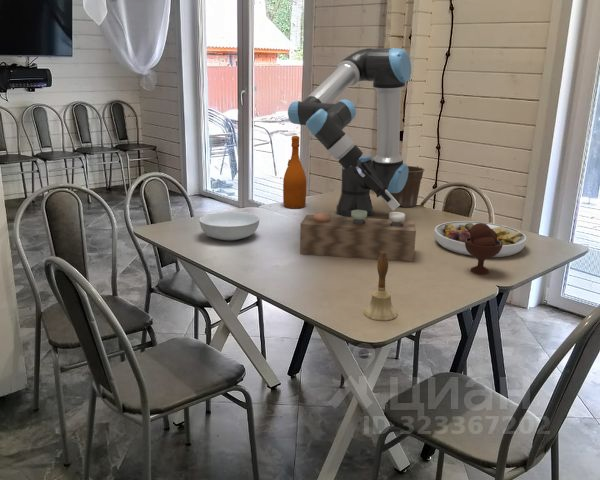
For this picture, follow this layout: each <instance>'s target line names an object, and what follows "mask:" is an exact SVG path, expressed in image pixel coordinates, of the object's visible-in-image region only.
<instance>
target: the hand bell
mask: <svg viewBox="0 0 600 480" xmlns="http://www.w3.org/2000/svg"><path fill="white" fill-rule="evenodd" d="M376 267H377V273H378V285H377V288H378V289H377V290H374V291H373V292H372V294H371V298H370V302H369V305H368V306H367V307H366V308H364V310H363V314H364V315H363V316H365V317H366V318H368V319H371V320H373V321H379V322H380V321H383V322H384V321H391V320H394V319H396V318H397V317H398V312H397V309H395V308H394V307H393V304H392V299H391V293H390V292H389V291H387V290H386V276H387V274H388V269H389V260H388V259H387V255H386V252H381V254H380V257H379V259H377V265H376Z"/></svg>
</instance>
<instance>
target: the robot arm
mask: <svg viewBox="0 0 600 480" xmlns="http://www.w3.org/2000/svg"><path fill="white" fill-rule="evenodd" d="M411 74H412V63H411V57H410V56H409V54H408V52H407V51H406V50H405V49H403V48H397V47H382V48H372V47H371V48H369V47H368V48H367V47H366V48H362V49H359V50H357V51H355V52H353V53H351V54H349V55H347V56H346V57H345V58H343V59H342V60H341V61H340V62H339V63H338V64H337V66H336V69H335V70H334V72H332V73H331V74H330V75H329V76H328V77H327V78H326V79H325V80H324V81H322V83H320V85H318V86H317V87H316V88H315V89H314V90H312V92H311V93H310V94H309V95H307V96H306V97H305V99H304V100H303V101H300V100H298V101H297V100H296V101H292V102H291V103H290V104H289V106H288V108H287V116H288V120H289V121H290V123H291V124H294V125H299V126H306V128H307V129H308V130H309V132H311V135H312V136H314V137H315V139H316V140H318V141H319V142H320V144H321V145H323V147H324V148H325V149H326V150H327V151H328V152H329V153H328V155H329V156H333V158H334V159H335V160H338V164H340V166H341V193H340V197H339V199H338V203H337V204H336V207H335V208H336V211H335V213H337V214H338V215H340V216H343V217H351V211H352V210H365V211H367V217H368V216H369V217H370V216H371V215H373V214H374V206H373V203H372V199H371V195H370V194H371V193H370V192H371V191H372V192H374V193H375V195H376V198H379V197H380V198H381V199H382V200H383V202H385V204H386V205H388V207H389V208H390V209H391V210H392V212H395V210H396V209H397V208H399V207H401V206H400V204H399V203H398V202H397V201H396V200H395V199H394V197H393V196H392V195H391V194H390V193H399V192H400V191H401V190H402V189H403V188H404V186H405V184H406V181H407V178H408V171H409V170H408V166H409V165H408V164H406V163H404V157H403V156H402V155H401V154H400V142H401V140H400V139H401V138H400V134H401V133H400V131H401V94H402V93H401V92H402V90H403V89H404V88H405V87H406V86H405V85H406V83H408V82H409V81H410V79H411ZM359 82H372V87H373V89H374V90H376V92H377V93H376V95H377V97H376V98H377V99H376V106H377V107H376V113H377V114H376V155H375V156H374V157H372V156H370V155H364V154H363V153H364V152H363V151H362V150H361V149H360V148H359V147H358V146H357V145H354V144H355V142H354V141H353V140H352V139H351V138H350V136H349V135H348V134H347V133H345V131H344V130H343V129H345V128H346V127H347V126H348V125H349V124H350V123H351V122H352V121H353V119H354V118H355V117H356V114H357V110H356V109H357V108H356V107H355V105H354V103H353V102H352V101H351V100H348V99H340V100H339V101H336V100H337V99H338V98H339V97H340V96H341V95H343V93H344V92H345V91H346V90H347V89H348V88H350V86H354V85H356V84H357V83H359ZM335 101H336V103H335Z"/></svg>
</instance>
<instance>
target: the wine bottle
mask: <svg viewBox="0 0 600 480" xmlns="http://www.w3.org/2000/svg"><path fill="white" fill-rule="evenodd" d="M290 146H291V148H292V149H291V156H290V159H288V161H287V167H286V169H285V172H284V176H283V181H282V182H283V185H282V193H283V194H282V195H283V196H282V198H283V199H282V200H283V206H284V207H285V208H288V209H289V208H290V209H302V208H304V207H305V206H306V202H307V176H306V173H305V170H304V167H303V165H302V163H301V159H300V156H299V155H300V154H299V153H300V151H299V150H300V149H299V148H300V136H298V135H293V136H291V145H290Z"/></svg>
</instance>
